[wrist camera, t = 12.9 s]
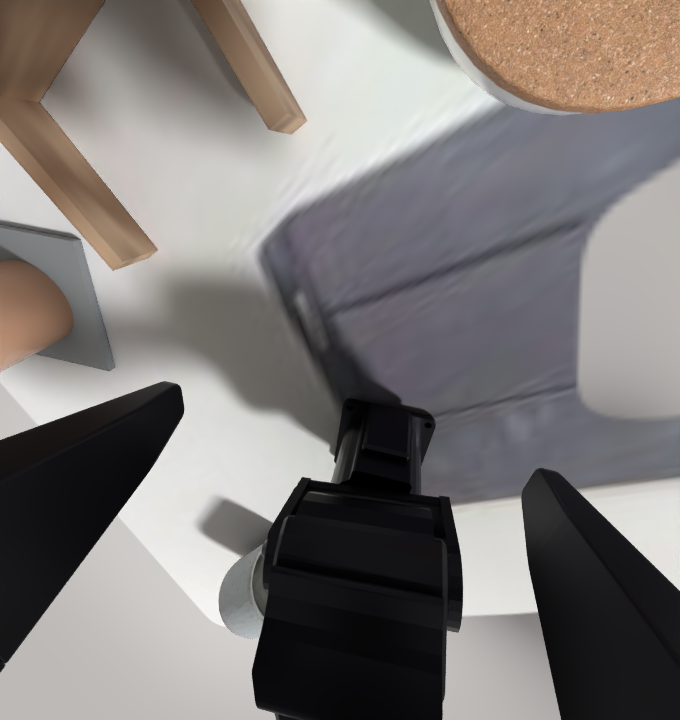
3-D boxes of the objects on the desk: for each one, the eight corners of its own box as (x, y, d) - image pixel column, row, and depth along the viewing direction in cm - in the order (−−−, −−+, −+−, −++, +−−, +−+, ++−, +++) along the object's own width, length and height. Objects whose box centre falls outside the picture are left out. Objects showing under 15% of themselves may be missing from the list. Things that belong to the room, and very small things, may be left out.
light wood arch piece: (307, 120, 16) (228, 92, 10) (148, 258, 22) (26, 301, 15) (159, -145, 13) (-122, -477, 6) (15, 96, 18) (-219, 58, 12)
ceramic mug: (233, 547, 38) (196, 628, 32) (269, 519, 34) (235, 606, 27) (308, 591, 40) (288, 675, 34) (351, 570, 36) (338, 661, 29)
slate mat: (115, 367, 27) (109, 371, 27) (7, 342, 28) (-1, 345, 28) (80, 239, 22) (72, 241, 22) (-51, 214, 23) (-62, 216, 23)
